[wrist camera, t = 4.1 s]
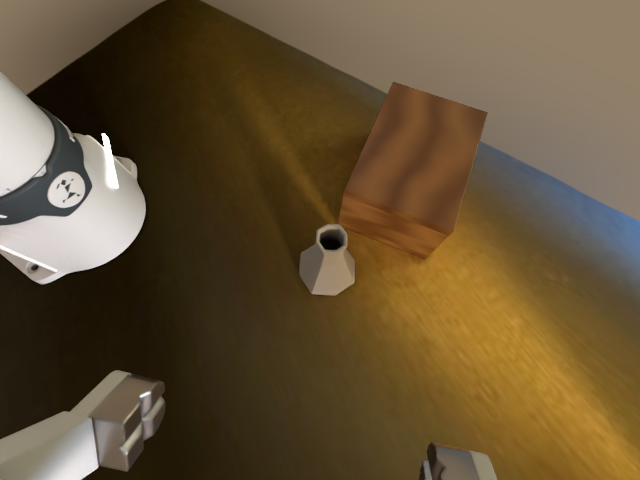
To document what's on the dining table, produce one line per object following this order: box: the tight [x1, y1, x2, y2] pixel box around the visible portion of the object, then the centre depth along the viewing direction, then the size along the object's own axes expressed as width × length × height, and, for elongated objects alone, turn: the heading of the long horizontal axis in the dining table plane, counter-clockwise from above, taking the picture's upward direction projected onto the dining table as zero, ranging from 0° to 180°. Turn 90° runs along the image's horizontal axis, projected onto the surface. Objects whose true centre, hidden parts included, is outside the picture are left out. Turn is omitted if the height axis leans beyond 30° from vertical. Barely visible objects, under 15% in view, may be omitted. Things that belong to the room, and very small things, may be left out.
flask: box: [299, 224, 355, 295], centre depth 36 cm, size 7×7×10 cm
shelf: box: [338, 82, 488, 259], centre depth 41 cm, size 12×17×9 cm
